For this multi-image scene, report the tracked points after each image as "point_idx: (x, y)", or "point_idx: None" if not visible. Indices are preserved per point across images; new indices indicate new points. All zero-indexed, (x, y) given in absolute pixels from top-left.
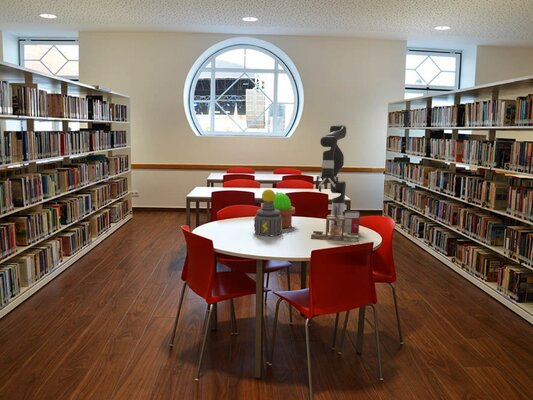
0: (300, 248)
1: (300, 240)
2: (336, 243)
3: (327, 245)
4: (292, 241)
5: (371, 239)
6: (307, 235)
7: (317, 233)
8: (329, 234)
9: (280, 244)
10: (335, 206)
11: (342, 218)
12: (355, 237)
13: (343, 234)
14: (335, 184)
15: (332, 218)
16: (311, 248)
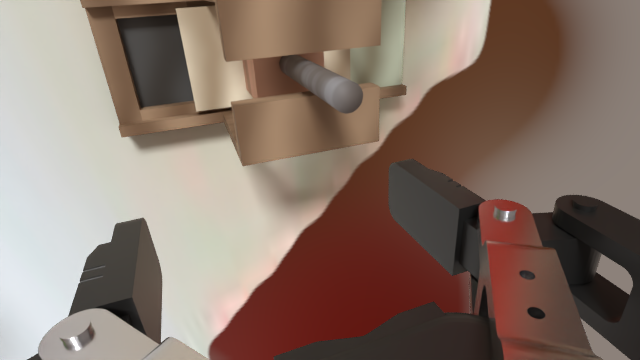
0: None
1: (85, 210)
2: (298, 183)
3: (265, 239)
4: (51, 253)
5: (461, 12)
6: (55, 47)
7: (128, 17)
8: (243, 98)
9: (26, 337)
10: (341, 112)
11: (368, 132)
12: (392, 96)
13: (327, 60)
14: (546, 242)
15: (293, 155)
16: (211, 317)
